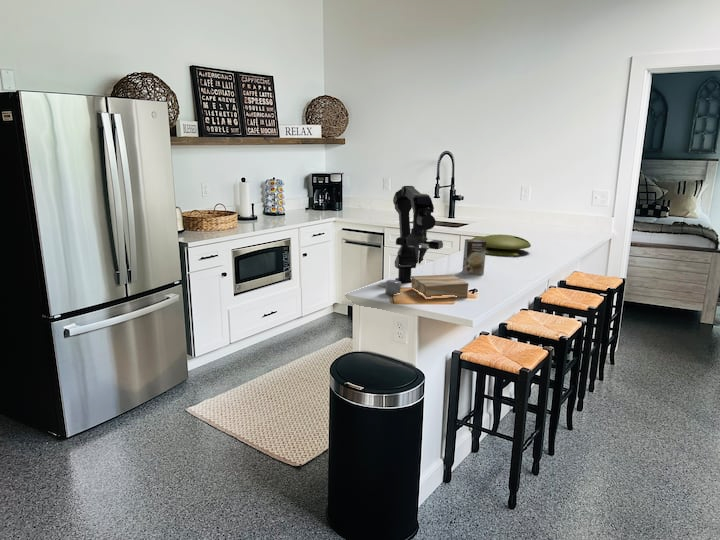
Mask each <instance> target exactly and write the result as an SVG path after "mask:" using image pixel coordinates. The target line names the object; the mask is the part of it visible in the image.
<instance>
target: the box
mask: <svg viewBox="0 0 720 540" xmlns="http://www.w3.org/2000/svg"><path fill="white" fill-rule="evenodd" d="M411 279H412V282H411V287H412V288H414V289H416V290H418V291H419V292H421V293H423V294H424V295H425V296H426V297H431V296H442V295H455V296H457V298H456V299H460V298H468V291H469V285H461V286H442V287H425V286H423V285H422V284H420V283H419V282H417V281H416V280H414V279H413V278H411Z"/></svg>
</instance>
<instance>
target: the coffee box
mask: <svg viewBox="0 0 720 540" xmlns="http://www.w3.org/2000/svg"><path fill="white" fill-rule="evenodd" d="M486 250H487V249H486V241H484V240H473V238H471V239H468V238H467V239H466V238H465V239H464V249H463V259H462V273H463V274H465V275H475V276H476V275H477V276H478V275H480V276H481V275H484V274H485V262H486V255H485V253H486Z"/></svg>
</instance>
